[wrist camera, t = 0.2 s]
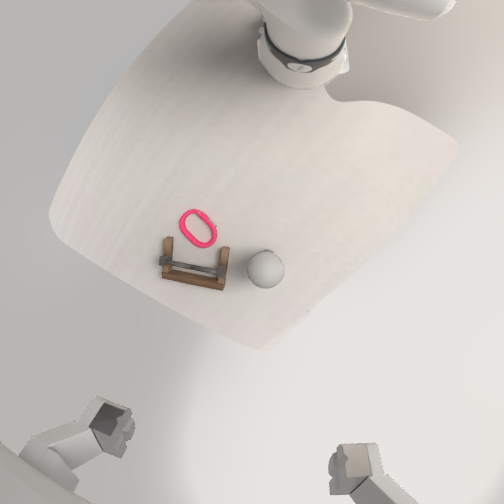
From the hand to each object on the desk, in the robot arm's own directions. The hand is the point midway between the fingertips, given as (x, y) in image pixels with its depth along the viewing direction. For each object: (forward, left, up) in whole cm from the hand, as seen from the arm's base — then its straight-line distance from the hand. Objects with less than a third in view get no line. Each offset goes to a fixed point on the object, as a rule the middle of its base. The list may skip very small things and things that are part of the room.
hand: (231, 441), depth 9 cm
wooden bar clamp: (+11, -14, -46) cm, 49 cm away
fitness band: (+5, -14, -46) cm, 49 cm away
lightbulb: (+8, 0, -46) cm, 47 cm away
